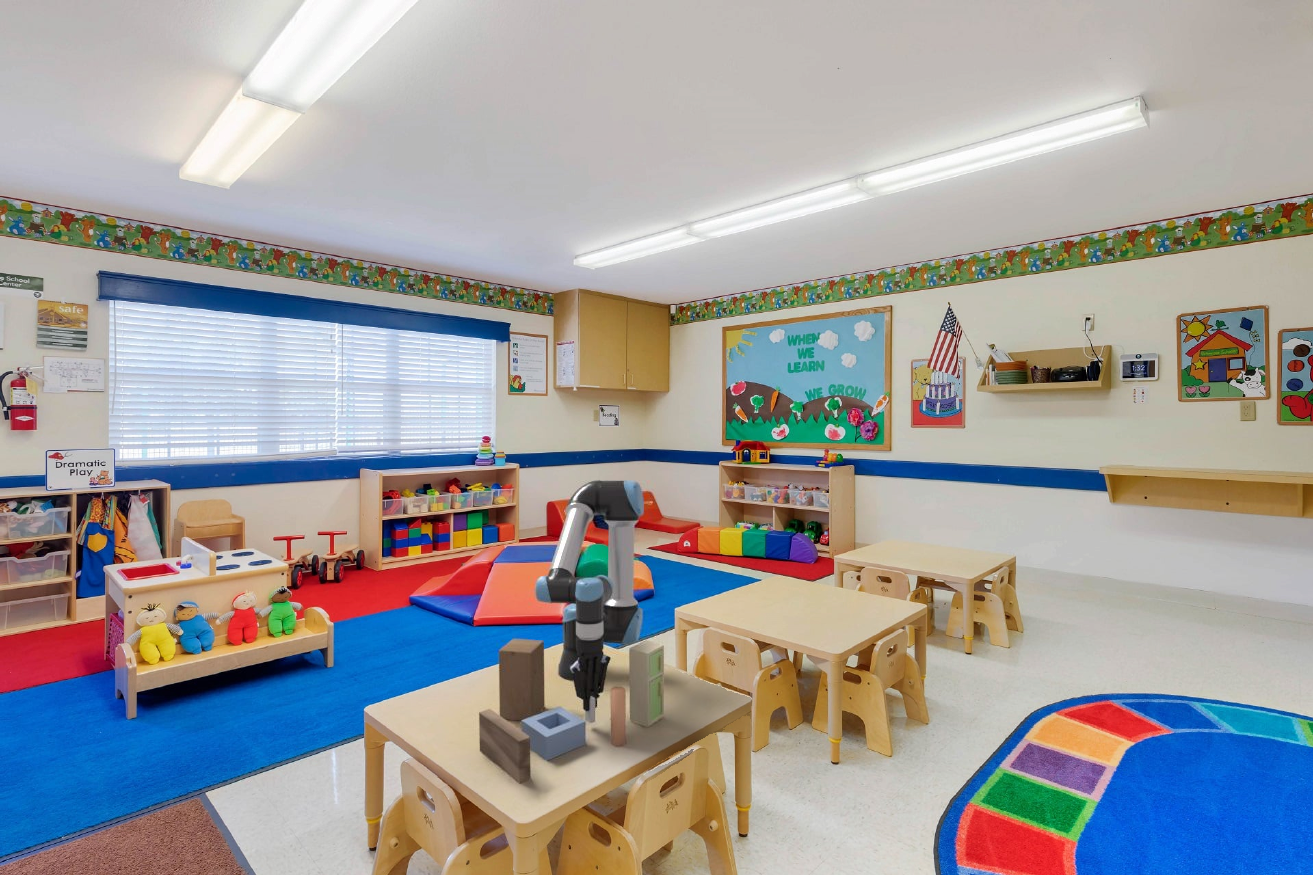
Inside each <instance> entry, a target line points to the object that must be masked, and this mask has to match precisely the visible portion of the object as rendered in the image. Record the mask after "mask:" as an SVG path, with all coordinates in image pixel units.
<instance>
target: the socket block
mask: <svg viewBox="0 0 1313 875" xmlns="http://www.w3.org/2000/svg"><path fill="white" fill-rule="evenodd" d="M586 722H587V721H586V720H585V719H582V718H581V717H579V716H577V715H575V713H572V712H571V711H569V710H567V709H565V708H563V707H562V706H561V705H560V706H556V707H554V708H551V709H549V710H548V709H547V710H545V711H544V712H539V714H537V715H535V716H532V717H529V718H527V719H524V720H522V721H521V731H522V732H524V733H525V734H526V735H528V736H529V737H530V751H532V752H534V753H535V754H536V755H538V756H539V757H540V758H542V759H544V760H545V761H549V760H552V759H553V758H554V759H555V758H556V757H558V756H561V755H564V754H566V753H568V752H570V751H572V750H575V749H577V748H581V746H584V745H586V744H587V741H586V740H587V738H586V737H587V736H586V735H587V734H586V731H587V729H586V725H587V724H586Z"/></svg>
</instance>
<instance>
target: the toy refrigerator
mask: <svg viewBox="0 0 1313 875" xmlns="http://www.w3.org/2000/svg"><path fill="white" fill-rule="evenodd" d="M628 654H629V655H628V658H629V660H628V661H629V663H628V664H629V671H628V672H629V674H628V675H629V721H630V722H632V723H635V724H637V725H639V726H643V727H645V728H649V727H650V726H652V725H653V724H655V723H657V722H658V721H661V719H663V718H664V717H665V645H664V644H661V643H657V642H653V641H649V640H644V641H642V642H639V643H637V644H636V645H633V646H631V647H629V651H628Z"/></svg>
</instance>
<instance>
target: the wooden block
mask: <svg viewBox="0 0 1313 875" xmlns="http://www.w3.org/2000/svg"><path fill="white" fill-rule="evenodd" d="M498 676H499V677H498V686H499V688H498V689H499V690H498V691H499V692H498V693H499V716H501V717H502V718H504V719H505V720H507V721H508V720H509V721H510V720H511V721H521V722H522V720H524V719H527V718H529V717H532V716H535V715H537V714H540V713H541V712H542V710H543V709H544V708H545V705H546V704H545V642H544V640H539V639H538V640H536V639H527V638H526V639H524V638H512V639H511V640H510V641H509V642H507V643H505V645H503V646H502V647H501V648H500V649H499V651H498Z"/></svg>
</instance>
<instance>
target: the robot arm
mask: <svg viewBox="0 0 1313 875" xmlns="http://www.w3.org/2000/svg"><path fill="white" fill-rule="evenodd" d="M644 508H645V502H644V495H643V490H642V487H641V485H640V483H639V482H637V481H634V480H600V479H599V480H597V479H596V480H591V481H589V482H587V483H585V484H583V485H582V486H581V487H579V488H578V489H577V490H576V491H575V492H574V493H573V494H572V495H571V497H570V499H569V500H568V502H567V504H566V507H565V513H564V514H565V515H566V518H565V520H564V523H563V526H562V530H561V532H560V536H559V538H558V542H557V545H556V549H555V551H554V555H553V557H552V561H551V564H550V568H549V570H548V574H547V575H542V576H539V577H538V578H537V580H536V582H535V588H534V590H535V592H534V594H535V597H536V599H537V601H538V602H540V603H548V604H568V605H566V607H564V609H563V612H562V614H563V616H562V617H563V618H562V636H563V637H562V642H563V644H562V647H563V649H562V653H561V657H560V659H559V660H560V661H559V663H558V667H557V669H558V675H559V676H560V677H561V678H563V679H565V680H571V681H572V682H573V685H574V689H575V695H576V697H577V698H579V699H580V700H582V710H584V721H586V722H588V723H590V724H594V723H596V709H597V708H598V699H599V698H600V694H603V693H604V689H605V683H606V678H607V671H608V666H609V664H610V661H611V660H612V659H611V657H610V656H608V655H606V654H605V653H604V651H603V650H604V644H618V645H619V644H620V645H633V644H635V643H637V641H638V639H639V638H640V634H641V631H642V630H641V629H642V625H643V619H644V618H643V615H644V613H643V611H644V609H642V608H641V607H639V602H638V600H636V598H635V597H634V585H635V582H634V578H635V576H634V574H635V573H634V571H635V570H634V569H635V568H634V566H635V564H634V563H635V527H636V526H635V525H637V523H638V522H639V521H640V520H639V519H640V517H641V516H643V515H644V512H645V511H644ZM597 515H598V516H601V515H602V516H604V522H605V523H606V524H607V525H608V559H607V560H608V561H607V562H608V566H607V568H608V569H607V571H608V574H607V576H606V575H603V574H599V575H596V576H594V577H576V576H575V577H574V574H575V572H576V568H577V564H578V561H579V558H580V554H581V551H582V546H583V545H584V541H585V536H586V534H587V529H588V526H589V523H590V522H592V521H593V519H594V517H595V516H597Z"/></svg>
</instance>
